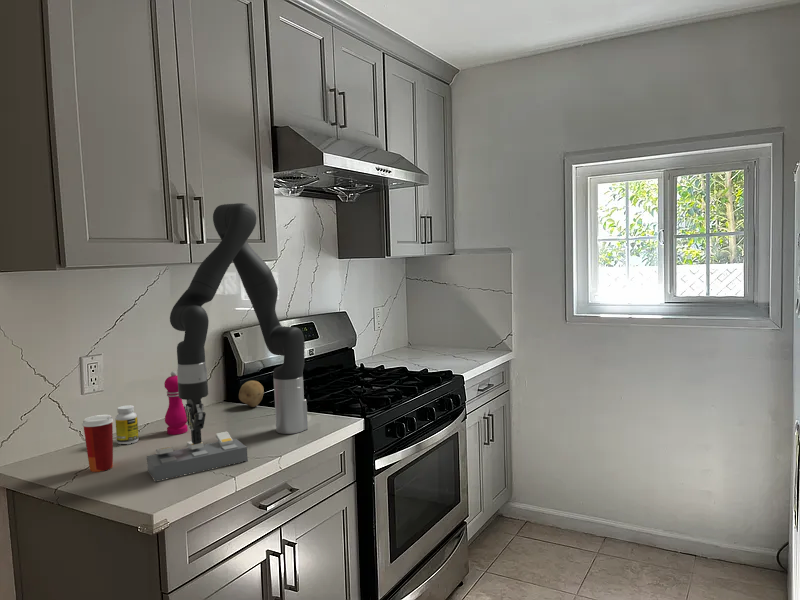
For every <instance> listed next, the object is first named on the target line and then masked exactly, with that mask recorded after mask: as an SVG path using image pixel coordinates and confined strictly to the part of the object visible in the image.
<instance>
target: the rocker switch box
mask: <svg viewBox="0 0 800 600" xmlns="http://www.w3.org/2000/svg"><path fill="white" fill-rule="evenodd" d="M232 439H233V444H231V445H226V446H221V445H220V443H219V442H218V441H215V442H211V443H205V444H204V447H202V448H197V449H190V448H189V447H185V448H181V449H173V452H169V453H164V454H156V453H155V454H150V455H146V464H147V465H146V466H147V467H146V468H147V472H148V471H149V472H148V474H149V475H150V474H151V475H150V476H151V478H152V477H153V478H154V479H153V478H152V479H153V480H155V481H157V480H161V481H163V480H162V479H166V478H170V479H173V478H172V477H175V478H177V477H176V476H179V477H181V476H180V475H184V474H188V475H190V474H189V473H193V472H197V473H199V472H198V471H202V472H204V471H203V470H206V471H209V470H208V469H211V470H213V469H212V468H215V469H217V468H216V467H220V468H222V467H221V466H224V467H226V466H225V465H229V464H233V465H235V464H234V463H238V464H240V463H239V462H242V463H244V462H243V461H247V462H249V461H248V458H249V457H248V446H246V445H245V444H243V442H241V441H240V440H239V439H237V438H232ZM229 466H230V465H229ZM193 474H194V473H193ZM184 476H185V475H184ZM166 480H167V479H166ZM155 481H154V482H155ZM157 482H158V481H157Z"/></svg>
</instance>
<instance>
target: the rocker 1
mask: <svg viewBox="0 0 800 600" xmlns="http://www.w3.org/2000/svg"><path fill="white" fill-rule="evenodd" d="M173 451H174V449H173V446H167V447H163V448H158V449H156V450H155V454H164V453H169V452H173Z"/></svg>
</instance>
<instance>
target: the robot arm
mask: <svg viewBox="0 0 800 600" xmlns="http://www.w3.org/2000/svg"><path fill="white" fill-rule="evenodd" d="M212 213H213V214H212V222H213V226H214V228H215V231H216V232H217V235H218V236H219V238H220V240H221V241H220V243H219V244H218V245H217V246H216V247H215V248H214V250H213V251H211V252H210V253H209V254H208V255H207V256H206V257H205V259H204V260H203V261H202V262H201V263H200V264H199V266H198V268H197V270H196V272H195V273H194V276H193V277H192V280H191V282H190V284H189V286H188V288H187V289H186V290H185V291H184V292H183V293H182V295H181V296H180V297H179V299H178V300H177V301H176V302H175V304H174V305H173V307H172V308H171V311H170V314H169V315H170V316H169V323H170V325H171V327H172V328H173V329H175V330H177V331H179V332H184V336H183V340H181V341H180V342H179V343H177V346H176V355H177V359H176V360H177V368H176V369H177V371H176V373H177V375H176V376H177V377H178V392H179V398H180V399H182V401H183V400H184V401H186V403H185V404H184V405H183V406H184V409H185V413H186V417H187V426H188V428H189V430H190V436H191V441H192V443H193V444H199V443H201V442H202V431H201V430H202V429H204V428H205V427H204V426H205V421H206V412H205V411H204V410H205V408H204V407H205V406H204V403H202V399H203V398H205V397H207V396H209V382H208V381H209V380H208V368H207V365H206V350H205V345H206V341H207V336H208V329H209V315H208V313H207V311H206V310H205V308H204V307H202V306H203V305H205V304H207V303H209V302H211V301H213V299H214V298H215V295H216V293H217V291H218V289H219V287H220V286H221V283H222V281H223V279H224V276H225V275H226V272H227V271H228V269H229V267H230V265H231V264H232V262H233V265H234V268H235V269H236V271H237V273H238V276H239V278H240V281H241V283H242V286H243V288H244V290H245V292H246V295H247V297H248V299H249V301H250V303H251V306H252V309H253V310H254V311H253V312H254V313H255V316H256V318H257V321H258V324H259V327H260V330H261V333H262V337H263V340H264V343H265V346H266V347H267V350H268V352H270V353H271V354H272V355H275V356H283V363H282V364H281V365H280V366H277V367H275V368H274V369H273V370H272V371H273V373H272V376H273V379H272V380H273V394H274V395H273V396H274V413H275V428H276V429H275V430H276V432H277V433H279V434H285V435H290V434H299V433H301V432H303V431H305V430H308V429H309V427H308V405H307V403H308V401H307V399H306V398H305V396H304V395H305V393H304V391H305V390H304V374H303V372H304V369H305V354H306V353H305V352H306V351H305V348H306V347H305V346H306V345H305V337H304V333H303V331H302V330H301V329H300V328H299V327H296V326H283V325H282V324H281V323H280V320H279V318H278V316H277V312H276V305H277V301H278V297H279V296H278V294H279V289H278V285H277V281H276V280H275V278H274V274H273V272H272V270H271V268H270V267H269V265H268V264H267V263H266V261H265V260H263V259H262V257H261V256H260V255H258V253H257V252H255V250H254V249H253V248H252V247H251V245H250V244H249V242H248V238H250V236H251V234H252V233H253V232H254V229H255V228H256V225H257V214H256V212H255V209H254V208H253V206H251V205H250V204H248V203H241V202H240V203H239V202H238V203H224V204H219V205H218V206H217V207H215V208H214V210H213V212H212Z"/></svg>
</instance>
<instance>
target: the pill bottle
mask: <svg viewBox="0 0 800 600" xmlns="http://www.w3.org/2000/svg"><path fill="white" fill-rule="evenodd" d="M134 411H135V406H134V405H131V404H129V405H122V406H118V407H117V415H116V416H115V418H114V419H115V433H116V434H115V435H116V443H117V445H121V444H127V445H131V443H132V444H134V443H137V442H138V441H139V440H140V439H139V437H140V436H139V422H138V415H137V413H136V412H134Z"/></svg>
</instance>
